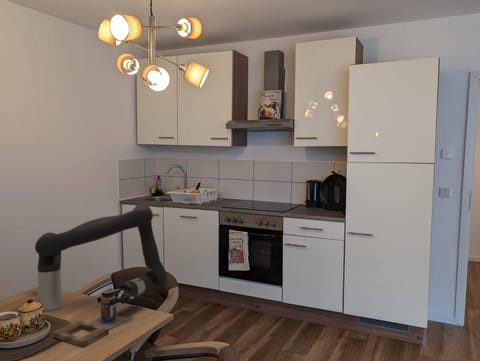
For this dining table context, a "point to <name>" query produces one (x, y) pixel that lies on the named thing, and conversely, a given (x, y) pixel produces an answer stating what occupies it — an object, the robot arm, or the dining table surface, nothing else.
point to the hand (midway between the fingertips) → (103, 302)
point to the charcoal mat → (109, 322)
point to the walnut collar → (86, 340)
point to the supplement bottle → (107, 305)
